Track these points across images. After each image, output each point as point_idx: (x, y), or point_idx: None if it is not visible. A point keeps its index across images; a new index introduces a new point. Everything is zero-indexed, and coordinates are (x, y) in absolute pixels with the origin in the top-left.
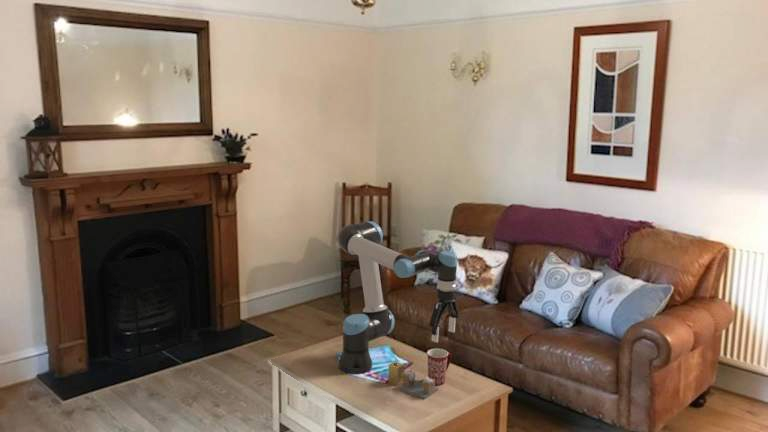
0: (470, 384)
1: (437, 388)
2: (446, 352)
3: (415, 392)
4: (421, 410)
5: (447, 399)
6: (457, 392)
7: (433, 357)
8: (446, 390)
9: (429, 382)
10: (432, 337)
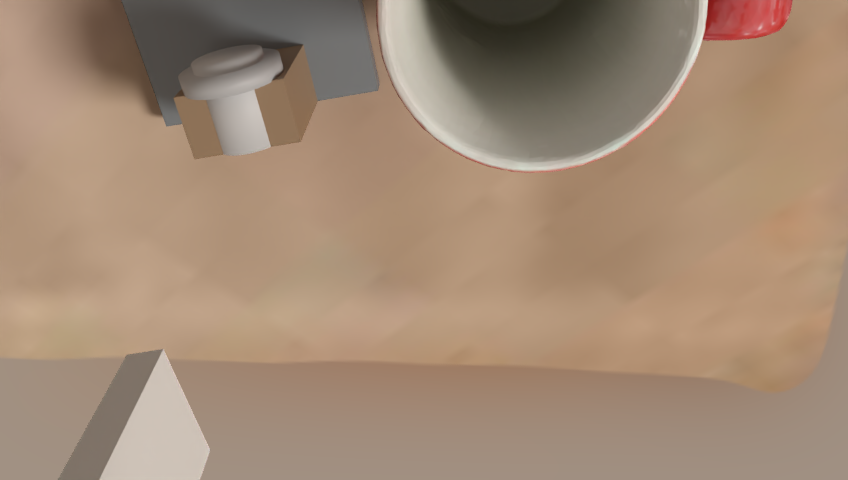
0: (684, 189)
1: (369, 90)
2: (664, 84)
3: (143, 10)
4: (44, 219)
5: (331, 232)
6: (484, 209)
7: (388, 70)
8: None
9: (210, 149)
10: (103, 428)
